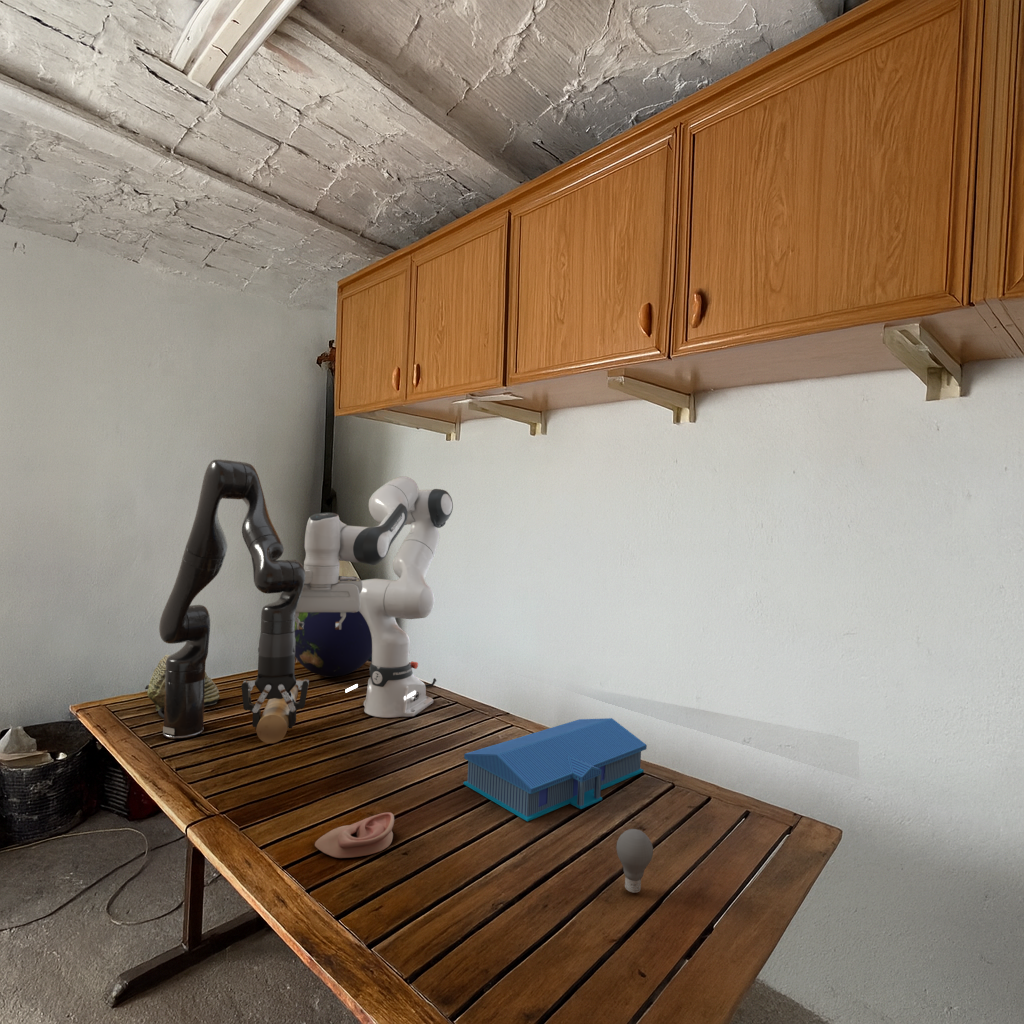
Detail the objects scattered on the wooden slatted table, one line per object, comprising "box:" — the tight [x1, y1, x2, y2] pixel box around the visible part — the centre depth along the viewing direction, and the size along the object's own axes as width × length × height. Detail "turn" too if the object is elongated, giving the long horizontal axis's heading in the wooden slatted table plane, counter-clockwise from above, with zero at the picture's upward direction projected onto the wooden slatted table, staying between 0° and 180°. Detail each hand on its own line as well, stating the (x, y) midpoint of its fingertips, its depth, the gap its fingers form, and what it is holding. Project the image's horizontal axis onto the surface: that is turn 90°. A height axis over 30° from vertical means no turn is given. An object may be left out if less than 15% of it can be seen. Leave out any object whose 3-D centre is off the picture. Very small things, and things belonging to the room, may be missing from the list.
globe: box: [295, 611, 372, 678], centre depth 222 cm, size 30×30×30 cm
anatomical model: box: [314, 812, 395, 859], centre depth 117 cm, size 13×4×12 cm
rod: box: [255, 685, 299, 744], centre depth 146 cm, size 25×6×6 cm, turn 14°
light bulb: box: [615, 828, 654, 894], centre depth 106 cm, size 6×6×10 cm
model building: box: [462, 717, 648, 822], centre depth 147 cm, size 39×24×10 cm, turn 132°
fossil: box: [147, 654, 221, 711], centre depth 185 cm, size 9×18×15 cm, turn 132°
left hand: (274, 727), depth 138 cm, fingers closed on rod, 6 cm apart
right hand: (319, 629), depth 163 cm, fingers open, 8 cm apart
